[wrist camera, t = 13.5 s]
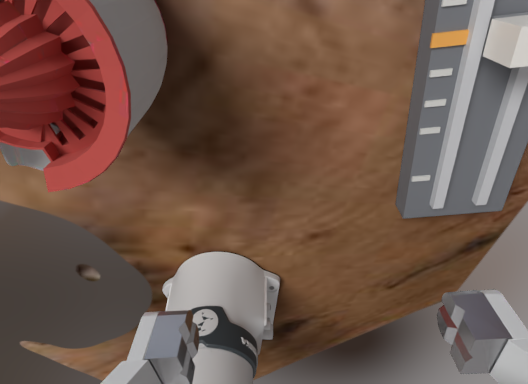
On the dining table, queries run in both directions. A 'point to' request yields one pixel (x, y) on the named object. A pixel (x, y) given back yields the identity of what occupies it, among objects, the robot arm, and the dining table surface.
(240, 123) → the dining table surface
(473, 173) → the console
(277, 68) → the dining table surface
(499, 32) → the fader
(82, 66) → the citrus juicer
